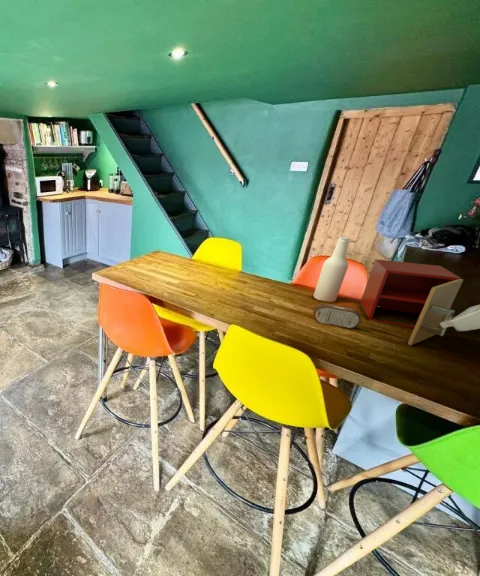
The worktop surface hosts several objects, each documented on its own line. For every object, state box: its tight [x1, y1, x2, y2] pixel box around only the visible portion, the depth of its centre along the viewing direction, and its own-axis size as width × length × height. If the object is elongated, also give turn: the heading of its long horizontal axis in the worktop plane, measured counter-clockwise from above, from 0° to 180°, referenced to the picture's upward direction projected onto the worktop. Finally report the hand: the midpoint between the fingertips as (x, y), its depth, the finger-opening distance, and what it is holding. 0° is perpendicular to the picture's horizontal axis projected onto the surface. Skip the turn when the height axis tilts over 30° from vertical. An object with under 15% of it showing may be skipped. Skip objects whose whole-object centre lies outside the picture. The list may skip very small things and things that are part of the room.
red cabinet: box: [359, 259, 461, 329], centre depth 121 cm, size 16×20×22 cm
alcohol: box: [313, 236, 351, 303], centre depth 137 cm, size 9×9×30 cm
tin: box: [312, 302, 362, 329], centre depth 118 cm, size 15×3×8 cm, turn 59°
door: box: [407, 278, 464, 346], centre depth 103 cm, size 6×20×22 cm, turn 114°
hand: (443, 324), depth 99 cm, fingers closed on door, 2 cm apart
